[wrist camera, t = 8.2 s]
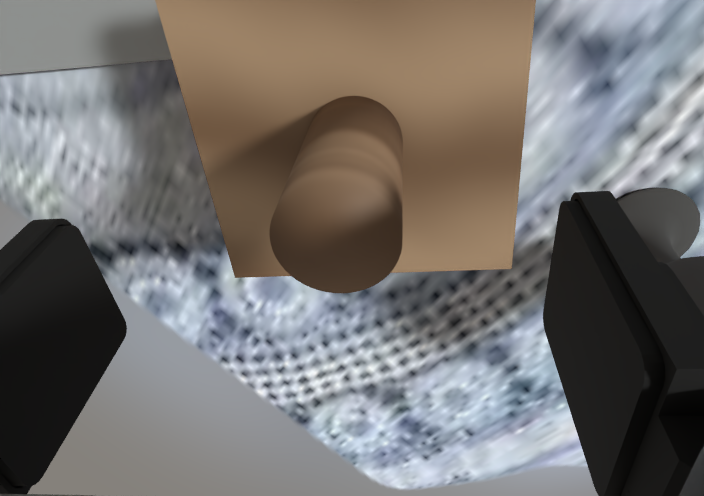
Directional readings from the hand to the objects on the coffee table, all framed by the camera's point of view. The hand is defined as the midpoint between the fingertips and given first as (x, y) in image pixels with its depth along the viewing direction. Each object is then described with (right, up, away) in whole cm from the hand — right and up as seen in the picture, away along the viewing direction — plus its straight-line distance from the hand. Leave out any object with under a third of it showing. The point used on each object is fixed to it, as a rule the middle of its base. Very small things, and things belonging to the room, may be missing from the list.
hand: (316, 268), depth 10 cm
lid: (+1, +4, +8) cm, 9 cm away
